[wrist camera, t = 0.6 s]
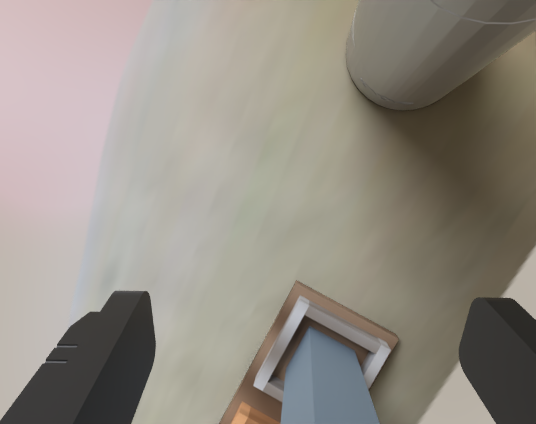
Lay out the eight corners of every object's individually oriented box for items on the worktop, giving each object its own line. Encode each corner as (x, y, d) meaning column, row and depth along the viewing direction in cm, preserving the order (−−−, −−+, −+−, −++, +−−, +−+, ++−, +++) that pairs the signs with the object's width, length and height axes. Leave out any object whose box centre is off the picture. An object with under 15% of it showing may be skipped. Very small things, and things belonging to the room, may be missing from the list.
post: (309, 325, 29) (315, 444, 15) (354, 350, 29) (404, 494, 15) (285, 368, 29) (270, 524, 15) (330, 393, 29) (356, 575, 15)
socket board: (296, 280, 30) (295, 287, 27) (395, 334, 29) (404, 346, 27) (192, 472, 31) (183, 495, 29) (285, 527, 31) (283, 556, 28)
